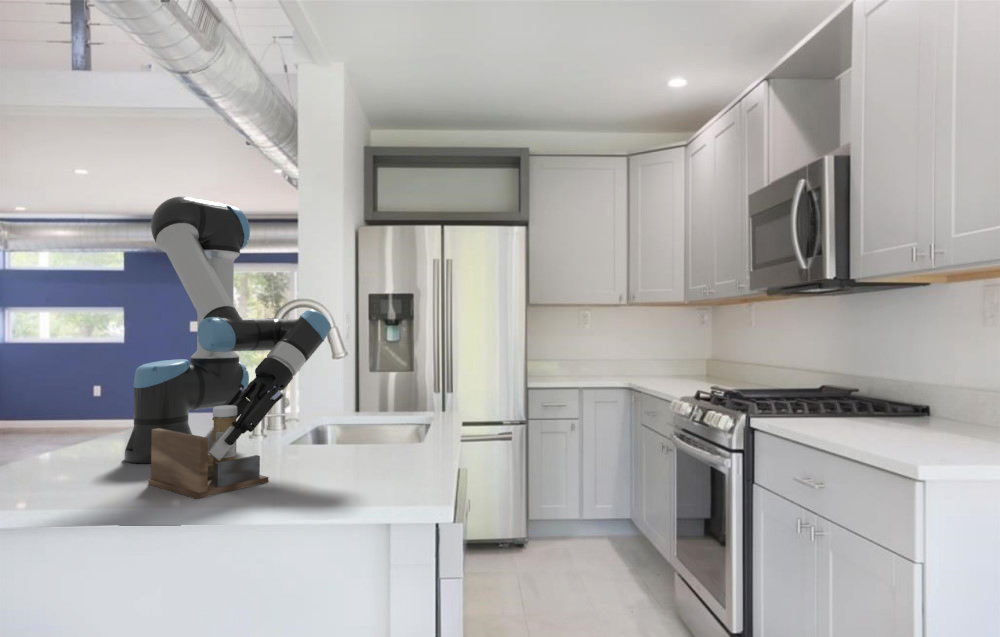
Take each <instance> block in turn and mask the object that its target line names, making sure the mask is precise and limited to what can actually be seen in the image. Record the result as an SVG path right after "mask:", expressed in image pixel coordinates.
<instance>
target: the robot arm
mask: <svg viewBox="0 0 1000 637" xmlns="http://www.w3.org/2000/svg"><path fill="white" fill-rule="evenodd" d="M250 229H251V228H250V224H249V221H248V218H247V216H246V214H245V213H244V212H243V211H242V210H241V209H240V208H239V207H236V206H233V205H229V204H226V203H221V202H216V201H215V202H214V201H209V200H204V199H197V198H193V197H189V196H175V197H172V198H169V199H166V200H164V201H163V202H162V203H161V204H159V205H158V206H157V208H156V209H155V210H154V213H153V215H152V217H151V221H150V230H151V236H152V238H153V241H154V242H155V244H156V246H157V247H158V249H159V250H161V251H162V252H164V253H165V254H166V255H167V257H168V260H169V261H170V264H171V265H172V267H173V269H174V270H175V272H176V274H177V276H178V278H179V281H180V282H181V284H182V287H183V288H184V290H185V292H186V293H187V295H188V297H189V299H190V301H191V303H192V305H193V306H194V309H195V311H196V313H197V317H196V318H197V330H196V331H197V337H196V338H197V339H196V341H197V342H196V343H197V344H196V345H197V346H196V349H197V350H196V351H195V352H194V353H193V354H191V356H190V361H189V360H188V359H185V358H184V359H183V358H182V359H181V358H180V359H179V358H177V359H170V360H167V359H165V360H158V361H153V362H147V363H144V364H142V365H140V366H138V367H137V368H136V369H135V372H134V378H133V386H132V387H133V426H132V427H133V428H132V430H131V434H130V436H129V439H128V441H127V443H126V447H125V449H124V461H125V462H127V463H132V464H151V445H152V429H158V428H161V429H166V430H171V431H176V432H181V433H186V434H191V435H193V432H192V430H191V427H190V425H189V424H190V423H189V413H190V412H189V411H195V410H196V411H197V410H205V409H213V407H216V406H222V405H234V406H237V415H236V416H237V417H236V422H232V424H233V425H234V426H235V428H234V427H233V426H230V427H229V428H228V429H227V430H226V431H225V433H224V434H223V435H222V436H221V437H220V439H219V440H218V441H217V442H216V443H215V445H214V446H213V430H214V429H213V428H214V426H213V427H212V428H210V430H209V432H208V433H207V434H206V435H205V436H204V437H207V438H208V454H210V455H212V456H213V457H214V458H215V459H216V460H217V461H220V460H221V458H222V457H223V456H224V455H225V453H226V452H227V451H228V450H229V448H230V447H231V446H232V445H233V444H234V443H235V441H236V442H237V440H239V438H240V436H241V435H242V434H245V433H246V432H249V433H251V432H253V431H255V429H256V428H257V427H258V425H259V424H260V423H261V422H262V420H263V419H264V418H265V417H266V415H267V414H268V413H269V412H270V411H271V409H272V408H273V407H274V406H275V405H276V403H278V402H279V401H280V400H281V399H282V398H283V397H284V394H283V393H282V392H281V391H283V390H285V389H286V388H287V387H288V385H289V384H290V383H291V381H292V380H293V378H294V377H295V376H297V373H299V372H300V370H301V369H302V367H303V366H304V365H305V363H307V362H308V360H309V359H310V358H311V357H312V355H314V353H315V352H316V351H317V349H318V348H319V347H320V346H321V345H322V344H323V342H325V339H326V338H327V337H328V335H329V333H330V332H331V329H332V327H331V323H330V321H329V320H328V318H327V317H326V316H325V315H324V314H322V313H321V312H319V311H318V310H315V309H307V310H305V311H304V313H302V314H300V315H299V318H294V319H293V318H291V319H290V318H289V319H284V318H277V317H275V318H274V317H272V318H271V317H267V318H259V317H257V318H254V317H253V318H252V317H251V318H250V317H248V318H247V317H241V315H240V314H239V312H238V311H237V309H236V307H235V305H234V289H235V288H234V280H235V278H234V277H235V275H234V274H235V273H234V272H235V270H234V268H235V265H234V263H235V260H236V259H237V258H239V256H241V250H242V249H245V247H247V245H248V241H249V240H250V236H251V230H250ZM251 351H252V352H254V351H255V352H257V351H258V352H259V351H262V352H263V351H269V352H268V353H267V354H266V357H264V358H263V359H262V360H261V362H260V363H259V364H258V365H257V366H256V368H255V370H254V373H255V378H254V379H253V380H251V381H250V374H249V371H248V370H247V367H246V365H245V364H244V363H242V362H240V355H239V354H238V353H237V352H251ZM212 421H214V418H213V417H212Z"/></svg>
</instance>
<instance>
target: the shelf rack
mask: <svg viewBox="0 0 1000 637" xmlns="http://www.w3.org/2000/svg"><path fill="white" fill-rule="evenodd" d="M150 464H151V465H150V478H148V479H147V480H148V485H149V486H152V487H156V488H160V489H163V490H165V491H169V492H172V493H176V494H179V495H183V496H186V497H189V498H193V499H196V500H198V499H203V498H207V497H212V496H216V495H219V494H223V493H228V492H231V491H232V492H233V491H235V490H240V489H243V488H248V487H251V486H252V487H253V486H257V485H260V484H265V483H269V476H266V475H262V474H260V473H261V471H260V468H261V457H260V455H258V454H256V455H250V456H244V457H240V458H236V459H234V460H228V461H223V462H218V463H215V465H214V473H213V472H212V470H213V456H212V455H210V454H208V438H207V437H205V436H200V435H195V434H192V435H191V434H186V433H181V432H176V431H171V430H166V429H161V428H158V429H152V445H151V463H150Z"/></svg>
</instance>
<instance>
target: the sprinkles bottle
mask: <svg viewBox="0 0 1000 637" xmlns="http://www.w3.org/2000/svg"><path fill="white" fill-rule="evenodd" d="M236 415H237V406H234V405H222V406H216V407H213V408H212V419H213V418H214V420H213V427H214V428H213V427H212V428H213V429H214V430H213V446H214V445H215V443H216V442H217V441H218V440H219V439H220V437H221V436H222V435H223V434H224V433H225V431H226V430H227V429H228V428H229V427H230V426H233V427H234V428H235V426H234V425H233V424H232V422H236V421H237V419H236V417H237V416H236ZM234 459H237V440H236V441H235V443H234V444H233V445H232V446H231V447H230V448H229V450H228V451H227V452H226V453H225V455H224V456H223V457H222V458H221V460H220V461H217V460H216V459H215V458H214V457H213V470H212V472H213V473H214V465H215V463H218V462H223V461H228V460H234Z"/></svg>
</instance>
